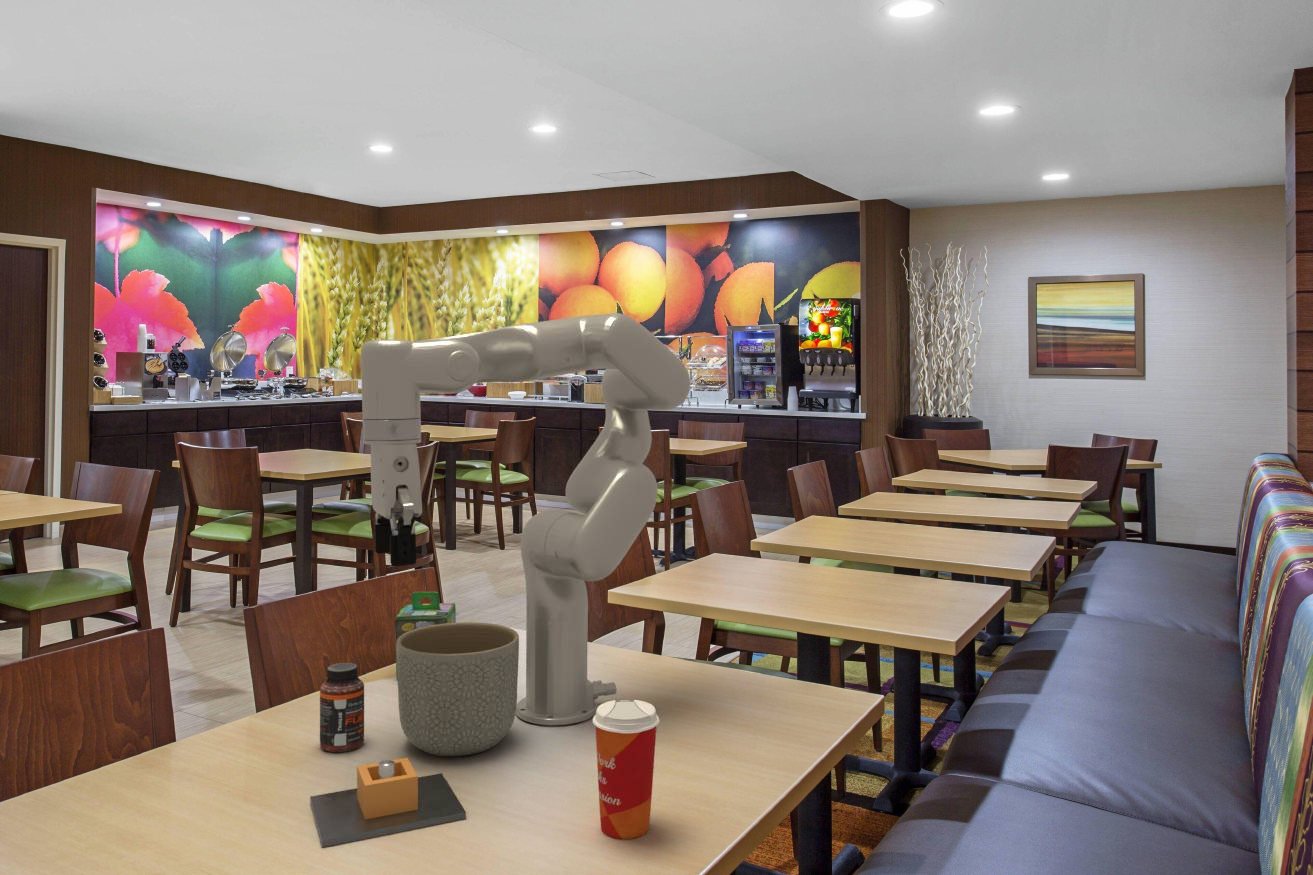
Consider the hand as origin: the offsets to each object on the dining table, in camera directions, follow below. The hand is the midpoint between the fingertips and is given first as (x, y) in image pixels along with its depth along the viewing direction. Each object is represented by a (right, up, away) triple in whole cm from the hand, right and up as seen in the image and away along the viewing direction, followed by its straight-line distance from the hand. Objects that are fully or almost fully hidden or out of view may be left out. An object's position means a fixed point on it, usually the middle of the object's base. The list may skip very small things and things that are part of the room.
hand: (395, 558), depth 125 cm
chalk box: (-5, -26, +38) cm, 46 cm away
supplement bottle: (-9, -27, +5) cm, 29 cm away
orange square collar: (+3, -28, -15) cm, 31 cm away
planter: (+7, -27, +6) cm, 29 cm away
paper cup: (+32, -29, -18) cm, 47 cm away
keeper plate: (+3, -28, -15) cm, 32 cm away
